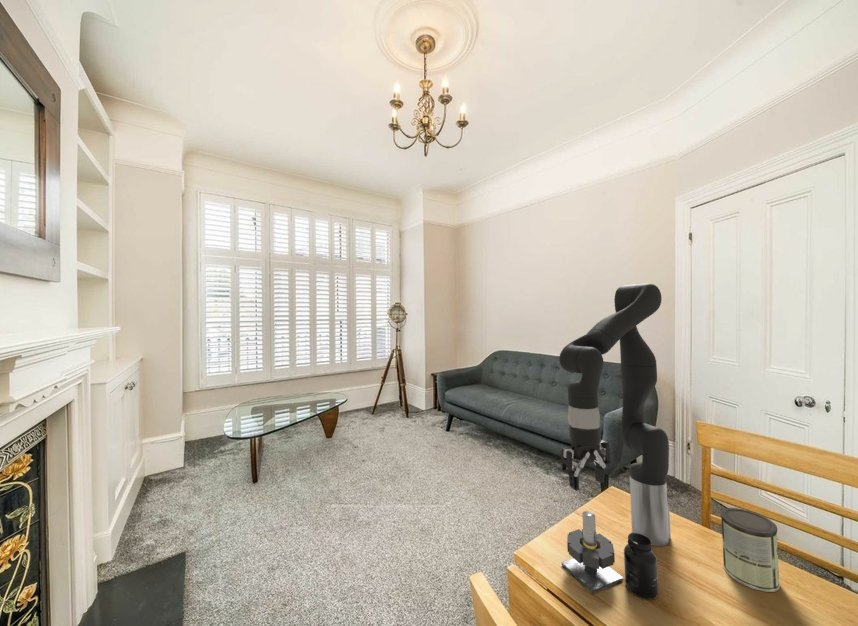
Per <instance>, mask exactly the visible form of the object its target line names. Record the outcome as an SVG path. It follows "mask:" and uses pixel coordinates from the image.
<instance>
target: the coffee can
mask: <svg viewBox="0 0 858 626" xmlns="http://www.w3.org/2000/svg"><path fill="white" fill-rule="evenodd" d="M719 513H720V519H721V534H722V537H721V538H722V554H723V555H722V558H723V559H722V560H723V569H724V571H725V572H726V574H727V575H728V576H730V577H731V578H732V579H733V580H734V581H736V582H738V583H739V584H741V585H744V586H746V587H747V588H750V589H753V590H756V591H759V592H764V593H766V592H767V593H775V592H777V591H779V590H780V588H781V585H780V574H779V573H780V572H779V557H778V556H779V555H778V554H779V553H778V552H779V551H778V537H777V536H778V535H777V534H778V527H777V525H776V523H774V522H773V521H772V520H770V519H769V518H768V517H766V516H764V515H761V514H759V513H757V512H753V511H750V510H747V509H744V508H743V509H742V508H737V507H726V508H723V509H721V510H720V512H719Z"/></svg>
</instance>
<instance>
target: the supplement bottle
mask: <svg viewBox="0 0 858 626" xmlns="http://www.w3.org/2000/svg"><path fill="white" fill-rule="evenodd" d="M653 551H654V550H653V549H652V545H651V541H650V539H649V538H647V537H646V536H644V535H642V534H638V533H632V532H631V533H629V534H628V535H627V544H626V545H625V546H624V548H623V561H624V563H623V564H624V565H623V566H624V583H625V585H626V587H627V588H628V590H629V591H630V592H631V593H632V594H634V595H635V596H637V597H639V598H641V599H646V600H654V599H656V598H657V597H658V595H659V577H658V559H657V556H656V554H655V553H654V552H653Z"/></svg>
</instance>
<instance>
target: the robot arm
mask: <svg viewBox="0 0 858 626" xmlns="http://www.w3.org/2000/svg"><path fill="white" fill-rule="evenodd" d="M613 301H614V310H615V313H612V314H610V315H608V316H607V317H604V318H602V319H600V321H599V322H597V323H596V324H595V325H593V327H591V328H590V330H589V331H588V332H587V333H585V334H584V335H582V336H580V337H578V338H576V339H574V340H573V341H571V342H570V343H568V344H566V345H565V346H564V347H563V348H562V350H561V351H560V354H559V356H558V357H559V358H558V361H559V365H560V367H561V368H562V369H563V370H564V371H566V372H570V373H574V374H581V379H580V380H579V381H577V380H576V381H573V382H570V383H569V384H568V385H567V396H568V397H567V401H568V411H567V417H568V439H569V440H570V442H571V448H569V449H567V448H564V447H563V448H562V449H561V450H560V451H561V452H560V453H561V454H560V455H561V460H560V461H561V472H562V473H564V474H566V475H568V480H569V481H568V483H569V487H570V488H571V489H572V490H574V491H575V492H577V491H579V490H580V480H579V478H580V477H579V473H580V471H581V470H583V468H584V467H585V465H588V464H589V463H594V465H595V466H594V479H595V481H596V482H598V483H601V484H602V483H605V474H606V473H605V469H606V467H607V465H611V453H610V445H609V442H607V441H605V440H603V439H602V433H601V415H600V409H599V396H598V390H599V385H600V380H601V376H602V373H603V369H604V357H603V355H605V354H607V353H608V352H610V350H611V349H612V348H613V347H615V345H616V344H617V343H618V341H619V349H620V350H619V351H620V352H619V353H620V375H621V385H622V389H621V390H622V395H621V396H622V410H621V411H622V412H621V427H620V429H621V431H620V432H621V433H620V434H621V441H622V443H623V445H624V446H625V447H626V448H627V449H629V450H630V451H632V452H635V454H636V453H637V454H638V455H641V456H642V460H641V461H640V462H639V461H638V462H634V463H631V464H630V466H629V467H628V468H629V469H628V470H629V490H630V493H629V494H630V514H631V533H638V534H642V535H644V536H646V537H647V538H649V539H650V541H651V546H656V547H663V546H667V545H668V544H669V542H670V539H671V515H670V505H669V504H668V492H667V491H668V490H667V477H668V473H669V470H670V469H669V468H670V464H669V463H670V459H669V458H670V443H669V438H668V434H667V433H666V432H665V431H664V430H663V429H662V428H660V427H657V426H654V425H652V424H649V423H646V422H645V416H644V415H645V414H644V413H645V412H644V411H645V405H646V401H647V400H648V398H649V397H650V395H651V394H652V392H653V391H654V389H655V387H656V385H657V382H658V371H657V370H658V368H657V359H656V356H655V354H654V352H653V350H652V348H650V346H649V345H648V344H647V342H646V341H645V339H644V338H643V337H642V335H641V334H640V332H639V330H638V327H637V326H638V325H640V323H642V322H643V321H645V320H646V319H648V318H649V317H650V316H652V315H654V314H655V313H656V312H657V311H658V310H659V308H660V307H661V304H662V292H661V290H660V288H659V287H658V286H657V285H656V284H654V283H637V284H629V285H628V284H626V285H621V286H619V287H618V288H617V289H616V291H615V293H614V300H613ZM576 461H577V462H576Z"/></svg>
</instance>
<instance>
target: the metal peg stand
mask: <svg viewBox="0 0 858 626" xmlns="http://www.w3.org/2000/svg"><path fill="white" fill-rule="evenodd" d="M582 529H583V546H584V547H585V548H587V549H591V550H597V543H596V532H597V529H596V515H595V513H593V512H592V511H588V510H586V511H582ZM561 566H562V567H563V568H564V569H565V570H566V571H567V572H568V573H569V574H571V576H572V577H574V578H575V579H576V580H577V581H578V582H579V583H580V584H581V585H582V586H583V587H585V589H586V590H588V592H589V593H590V594H591V595H594V594H596V593H599V592H600V591H603V590H604V589H607V588H610V587H611V586H615V585H616V584H618V583H620V582H623V580H624V579H623V576H621V575H620V574H619V573H617V572H616V571H615V570H614V569H612V568H611V566H609V567H607V568H604V569H602V568H601V567H600V566H599V569H597V568H593V567H588V566H584V565H583V562H582V563H579V562H577V561H576V560H575V559H574V558H573V557H571V558H569V559H567V560H565V561H561Z"/></svg>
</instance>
